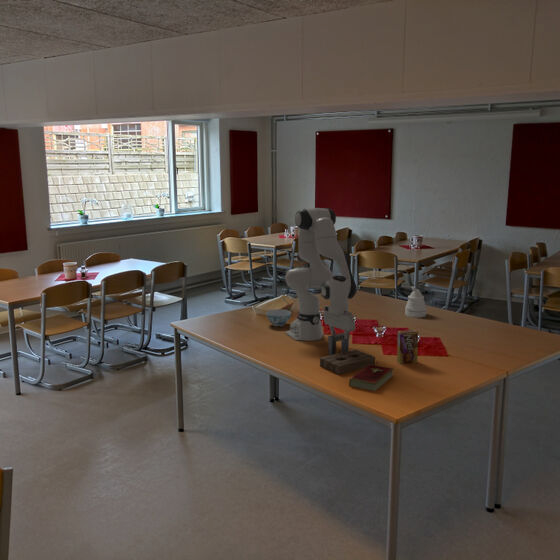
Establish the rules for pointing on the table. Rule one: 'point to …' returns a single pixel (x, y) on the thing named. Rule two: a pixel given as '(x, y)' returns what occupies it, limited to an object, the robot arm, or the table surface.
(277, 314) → the chinaware
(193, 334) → the table surface
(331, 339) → the grey u-shaped block
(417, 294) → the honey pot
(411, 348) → the candy box
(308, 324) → the robot arm
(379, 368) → the hardcover book
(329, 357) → the wooden board with holes
